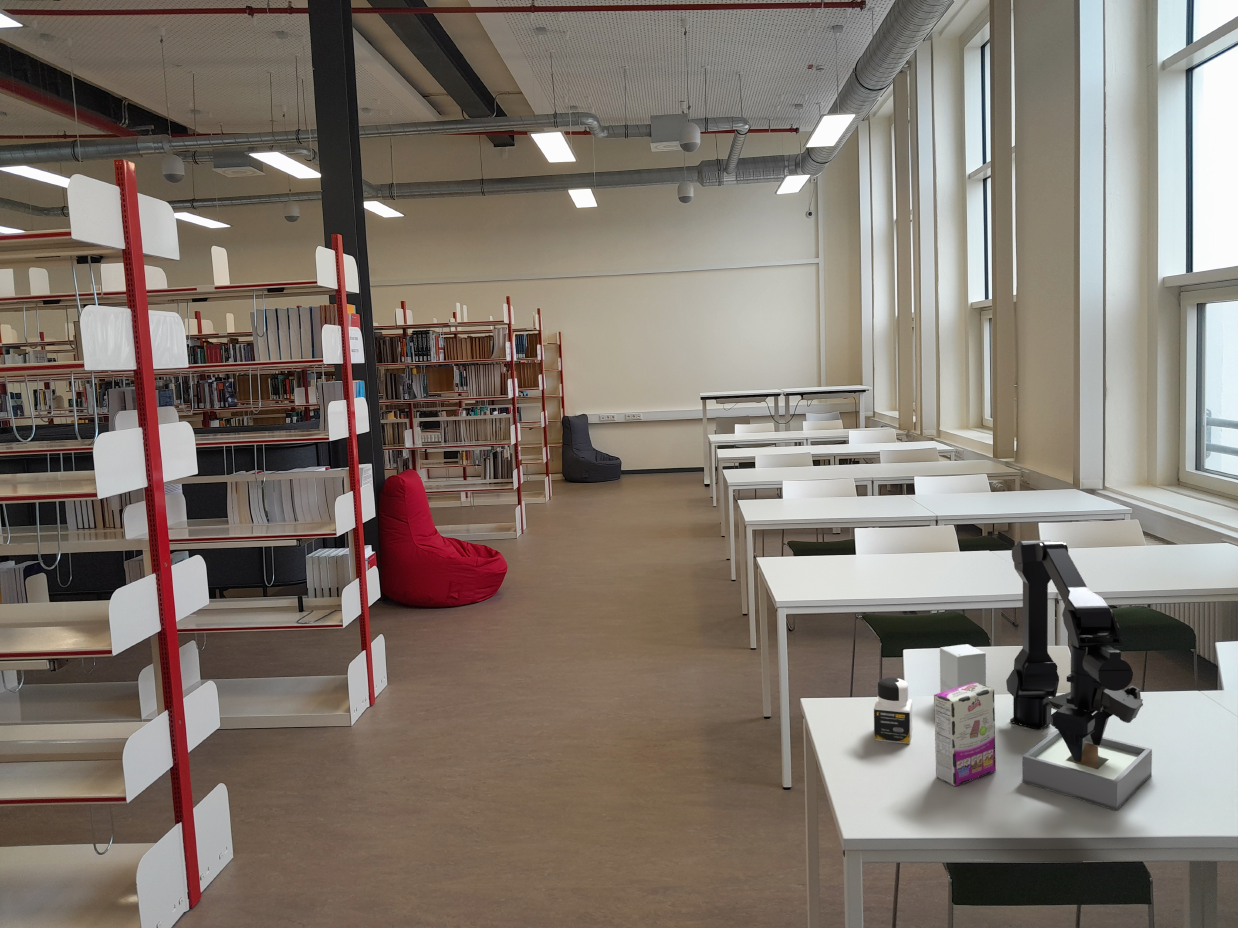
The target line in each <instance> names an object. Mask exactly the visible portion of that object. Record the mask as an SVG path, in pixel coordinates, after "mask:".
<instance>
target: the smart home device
mask: <svg viewBox="0 0 1238 928" xmlns="http://www.w3.org/2000/svg"><path fill="white" fill-rule="evenodd" d="M1125 689H1126V688H1124V689H1122V690H1123V691H1124V690H1125ZM1068 696H1070V692H1069V691H1068V692H1066V693H1062V694H1059V695H1056V697H1049V703H1051V707H1052V706H1053V707H1052V708H1055V707H1056V708H1055V709H1057V710H1058V709H1060V708H1061V707H1063V706H1066V707H1071V708H1075V709H1077V708H1076V707H1074V705H1072V704H1068V703H1066V698H1067V697H1068Z"/></svg>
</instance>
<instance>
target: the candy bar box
mask: <svg viewBox="0 0 1238 928" xmlns="http://www.w3.org/2000/svg"><path fill="white" fill-rule="evenodd" d="M933 704H934V705H933V709H934V710H933V712H934V744H935V747H934V748H935V752H934V753H935V777H936V778H937V779H939V780H941V781H943V782H945V783H947V784H950V785H951V786H954V787H958V786H960V785H963V784H967V783H968V782H971V781H973V780H976V779H979V778H982V777H985V776H986V775H989V774H993V773H994V772H996V771H997V770H996V769H997V768H996V767H997V766H996V765H997V761H996V760H997V759H996V755H997V754H996V719H995V718H996V717H995V716H996V713H995V710H996V709H995V688H993V687H990V686H987V685H986V686H985V685H981V684H980V683H975V682H974V683H971V684H967V685H964V686H961V687H957V688H954V689H951V690H947V691H944V692H941V693H940V692H938V693H935V694H934V693H933Z"/></svg>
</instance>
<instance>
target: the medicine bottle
mask: <svg viewBox="0 0 1238 928" xmlns="http://www.w3.org/2000/svg"><path fill="white" fill-rule="evenodd" d="M873 733H874V734H873V735H874V736H873V738H874V740H875V741H878V742H888V743H897V744H906V745H910V744H911V740H912V734H913V700H912V698H909V684H908V682H907V681H905V680H904V679H901V678H898V677H885V678H882V679H879V681H878V682H877V697H876V699H875V703H874V707H873Z"/></svg>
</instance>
